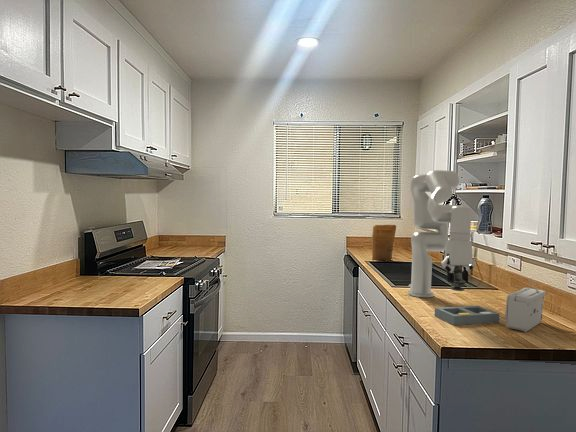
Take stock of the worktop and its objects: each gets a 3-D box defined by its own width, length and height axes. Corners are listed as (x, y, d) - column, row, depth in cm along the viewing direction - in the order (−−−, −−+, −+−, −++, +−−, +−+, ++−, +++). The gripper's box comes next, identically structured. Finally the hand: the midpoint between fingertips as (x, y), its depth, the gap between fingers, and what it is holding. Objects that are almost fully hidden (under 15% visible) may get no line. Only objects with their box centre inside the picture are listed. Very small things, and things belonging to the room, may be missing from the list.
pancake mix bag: (396, 261, 312) (397, 225, 310) (371, 261, 310) (373, 224, 309) (393, 260, 319) (394, 224, 317) (369, 259, 317) (370, 223, 315)
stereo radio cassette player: (522, 318, 168) (525, 270, 167) (544, 323, 162) (548, 273, 161) (503, 328, 154) (506, 275, 153) (527, 334, 148) (531, 279, 147)
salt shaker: (461, 287, 165) (462, 258, 165) (468, 291, 159) (469, 260, 159) (446, 287, 165) (448, 258, 164) (453, 290, 159) (454, 260, 158)
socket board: (434, 316, 167) (435, 306, 167) (477, 313, 173) (478, 304, 172) (453, 325, 156) (454, 315, 155) (499, 322, 161) (499, 312, 161)
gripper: (471, 236, 167) (469, 279, 168) (435, 236, 163) (433, 280, 163) (484, 238, 160) (482, 283, 161) (447, 238, 155) (444, 284, 156)
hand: (457, 281), depth 162 cm, fingers closed on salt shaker, 5 cm apart
